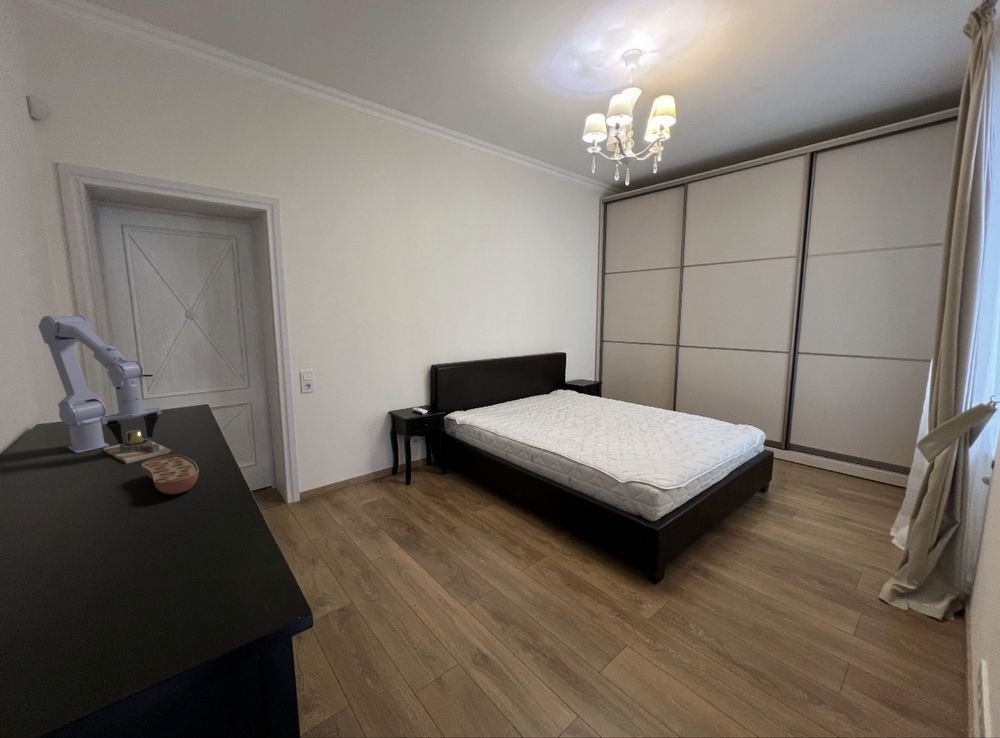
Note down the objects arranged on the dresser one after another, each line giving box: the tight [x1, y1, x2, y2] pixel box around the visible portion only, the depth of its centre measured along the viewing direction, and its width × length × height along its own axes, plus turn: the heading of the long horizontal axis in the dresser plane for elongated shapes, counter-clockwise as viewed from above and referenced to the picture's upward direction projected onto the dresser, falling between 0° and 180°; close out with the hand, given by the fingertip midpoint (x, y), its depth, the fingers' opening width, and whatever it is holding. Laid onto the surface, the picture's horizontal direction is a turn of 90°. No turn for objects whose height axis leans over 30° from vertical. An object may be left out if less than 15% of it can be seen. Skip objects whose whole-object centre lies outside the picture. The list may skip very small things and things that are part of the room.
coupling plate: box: [103, 438, 171, 464], centre depth 130 cm, size 20×11×3 cm, turn 59°
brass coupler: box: [125, 428, 145, 446], centre depth 130 cm, size 4×4×6 cm
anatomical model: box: [140, 454, 200, 495], centre depth 107 cm, size 23×10×5 cm, turn 51°
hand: (135, 439), depth 130 cm, fingers open, 7 cm apart
